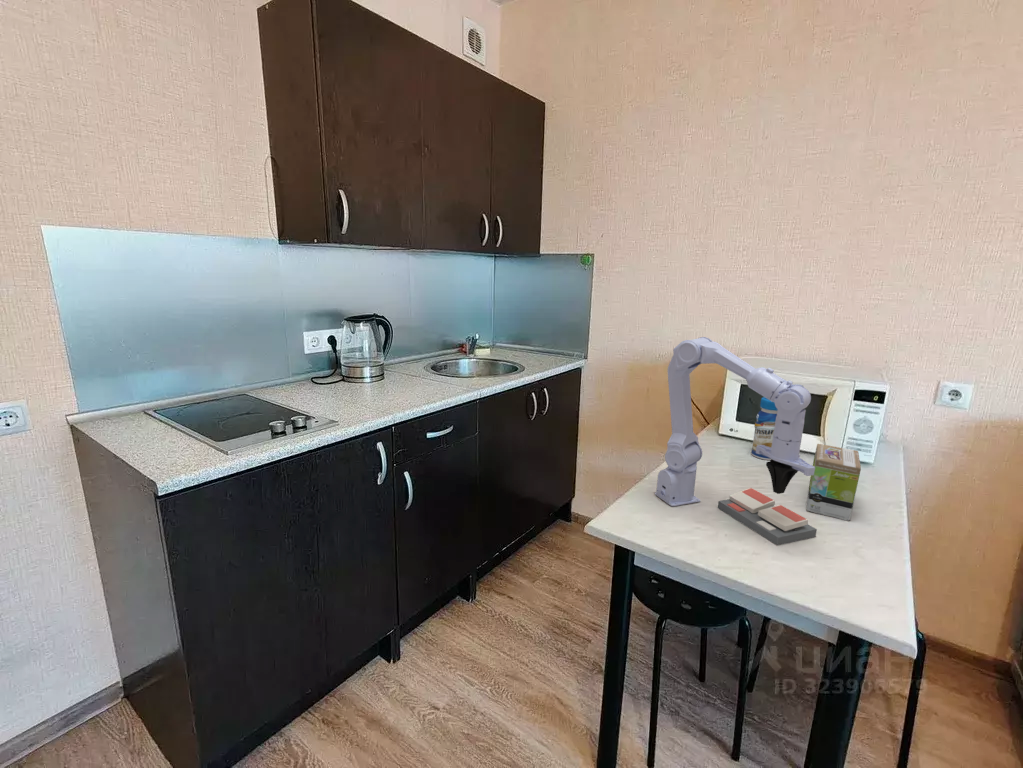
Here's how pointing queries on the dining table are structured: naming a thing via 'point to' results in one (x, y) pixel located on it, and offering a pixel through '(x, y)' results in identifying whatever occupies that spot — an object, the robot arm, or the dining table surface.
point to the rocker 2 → (782, 517)
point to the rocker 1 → (752, 500)
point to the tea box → (834, 481)
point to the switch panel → (765, 524)
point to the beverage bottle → (764, 426)
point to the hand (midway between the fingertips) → (778, 492)
